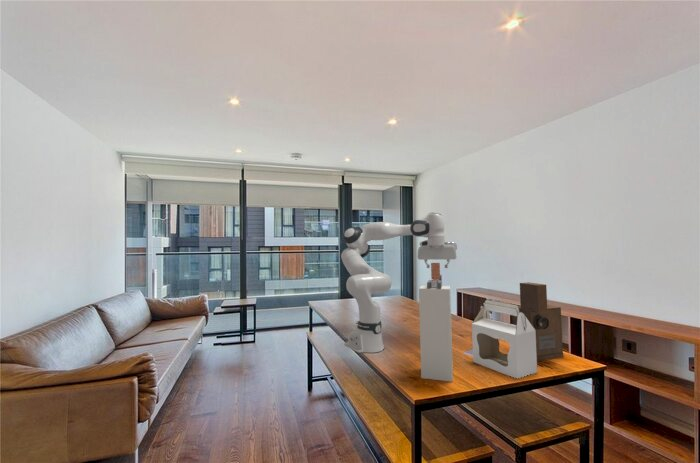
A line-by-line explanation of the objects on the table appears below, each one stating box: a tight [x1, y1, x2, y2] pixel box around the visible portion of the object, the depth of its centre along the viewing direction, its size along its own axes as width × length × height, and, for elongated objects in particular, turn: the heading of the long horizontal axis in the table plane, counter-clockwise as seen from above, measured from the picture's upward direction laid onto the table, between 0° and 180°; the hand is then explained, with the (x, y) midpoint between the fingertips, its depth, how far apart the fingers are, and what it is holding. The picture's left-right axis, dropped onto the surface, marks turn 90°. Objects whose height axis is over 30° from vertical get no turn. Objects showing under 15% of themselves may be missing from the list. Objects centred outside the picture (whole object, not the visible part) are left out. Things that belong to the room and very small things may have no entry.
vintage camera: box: [512, 281, 565, 363], centre depth 149 cm, size 19×14×35 cm
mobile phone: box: [463, 348, 473, 357], centre depth 157 cm, size 8×1×15 cm
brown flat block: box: [430, 262, 443, 288], centre depth 142 cm, size 26×4×10 cm, turn 161°
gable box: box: [471, 299, 538, 380], centre depth 138 cm, size 22×13×28 cm, turn 28°
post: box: [418, 279, 454, 383], centre depth 131 cm, size 10×12×38 cm
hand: (437, 268), depth 170 cm, fingers open, 8 cm apart
